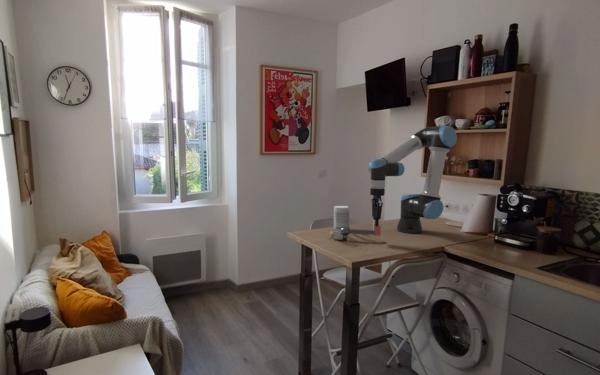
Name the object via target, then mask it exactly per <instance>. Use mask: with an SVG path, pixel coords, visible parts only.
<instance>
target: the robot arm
mask: <svg viewBox="0 0 600 375" xmlns="http://www.w3.org/2000/svg"><path fill="white" fill-rule="evenodd" d="M457 140H458V135H457V131H456V130H455V129H454V127H452V126H449V125H440V126H439V125H438V126H427V127H425V128H423V129H420V130H419V131H417V132H415V133H414V134H412V135H411V136H410V137H409V138H408V140H406V141H404V142H403V143H402V144H400V145H399V146H397V147H396V148H394V149H392V150H391V151H390V152H389V153H387V154H386V155H383V157H381V158H372V159H371V161H370V162H369V163H368V166H367V169H368V172H369V173H370V181H369V184H370V189H369V190H370V194H369V195H371V196H372V198H371V214H372V215H371V216H372V219H373V220H372V221H373V223H372V230H374V225H380V220H381V219H382V218H381V217H382V211H383V210H382V209H383V205H384V203H383V199H382V196H385V194H386V192H385V190H386V189H385V187H386V177H401V176H402V175H403V174H404V173H405V165H404V163H402V162H401V161H402V160H404V159H405V158H406V157H408V156H409V155H411V154H412V153H414V152H415V151H418V150H421V149H423V148H426V147H428V149H429V151H430V154H429V159H428V164H427V170H426V174H425V180H424V185H423V191H422V192H421V193H408V194H407V193H406V194H403V195H401V197H400V199H401V200H400V218H399V220H398V224H397V225H396V231H398V232H401V233H406V234H421V233H423V226H422V221H421V218H423V219H426V220H436V219H438V218H439V217H441V215H442V214H443V212H444V203H443V201H441V200H442V199H441V198H442V197H441V195H440V189H441V183H442V178H443V174H444V169H445V163H446V158H447V153H449V152H450V151H451V147H453V146H455V145H456V143H457Z"/></svg>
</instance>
